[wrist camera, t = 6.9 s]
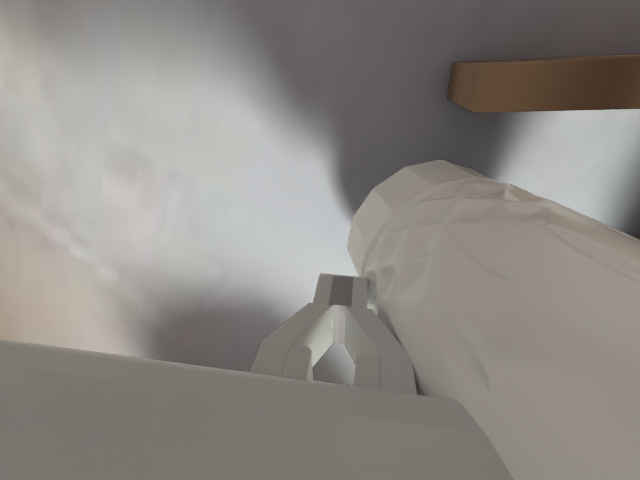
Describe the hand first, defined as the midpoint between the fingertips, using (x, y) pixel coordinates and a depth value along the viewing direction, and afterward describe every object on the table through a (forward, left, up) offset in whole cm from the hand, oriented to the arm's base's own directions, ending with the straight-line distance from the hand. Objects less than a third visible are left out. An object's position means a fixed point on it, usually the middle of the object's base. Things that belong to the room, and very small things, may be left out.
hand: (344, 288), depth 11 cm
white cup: (0, +3, -4) cm, 5 cm away
